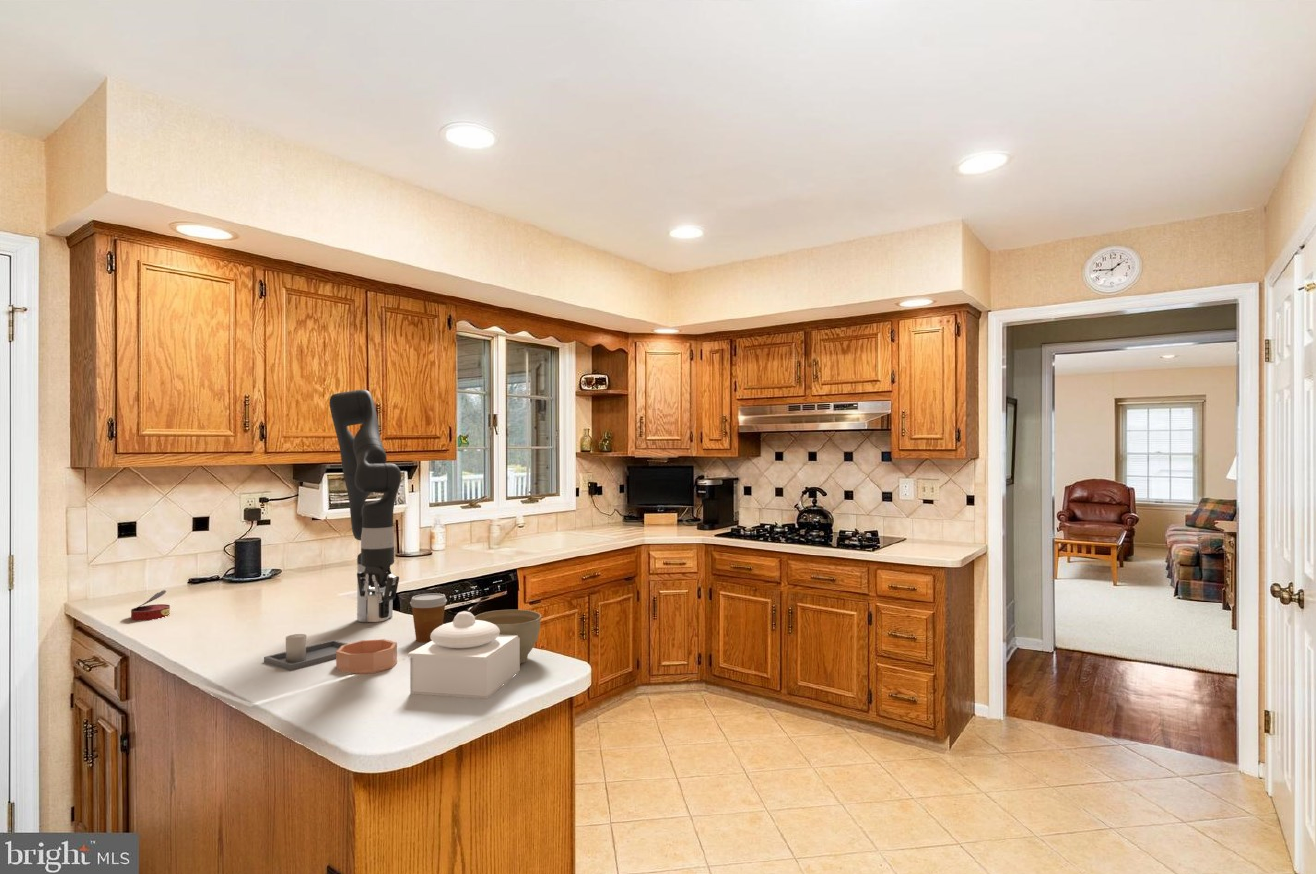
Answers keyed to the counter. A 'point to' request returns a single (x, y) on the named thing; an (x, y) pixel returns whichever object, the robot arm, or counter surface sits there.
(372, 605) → the white cylinder
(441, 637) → the white lidded box
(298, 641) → the grey cylinder
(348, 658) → the terracotta bowl
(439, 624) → the disposable coffee cup
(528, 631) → the planter bowl
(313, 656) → the parts tray
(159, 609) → the canned food
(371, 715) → the counter surface
